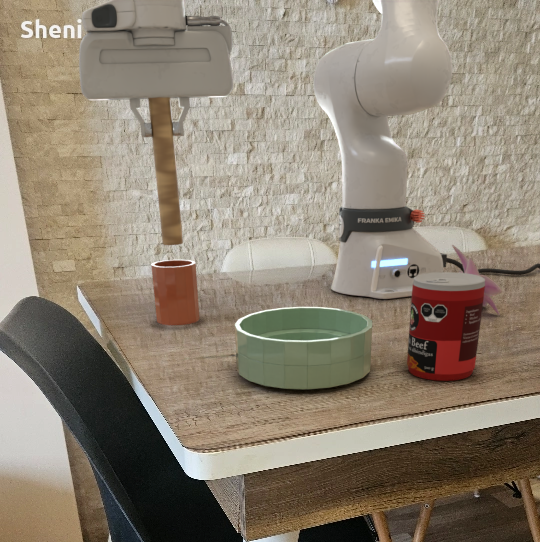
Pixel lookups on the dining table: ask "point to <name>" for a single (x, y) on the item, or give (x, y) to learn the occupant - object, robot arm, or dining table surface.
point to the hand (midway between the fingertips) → (162, 136)
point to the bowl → (303, 347)
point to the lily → (490, 285)
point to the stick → (165, 170)
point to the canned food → (445, 325)
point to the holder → (175, 292)
